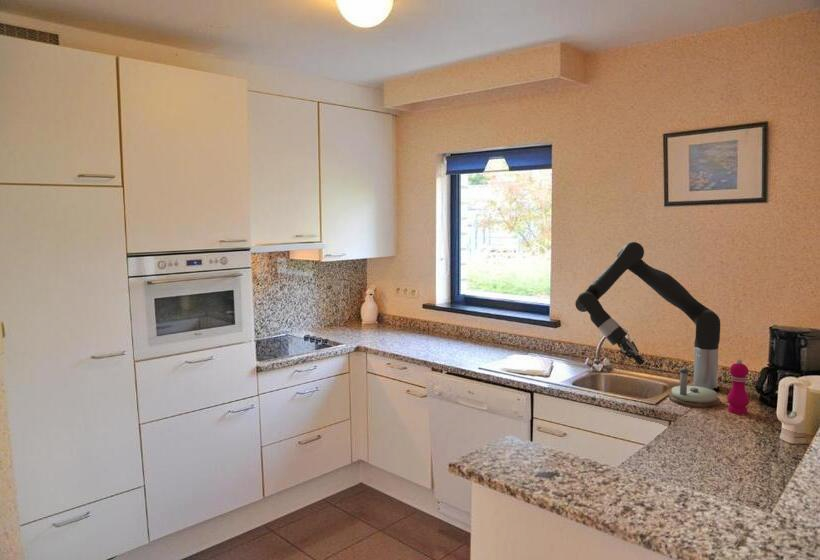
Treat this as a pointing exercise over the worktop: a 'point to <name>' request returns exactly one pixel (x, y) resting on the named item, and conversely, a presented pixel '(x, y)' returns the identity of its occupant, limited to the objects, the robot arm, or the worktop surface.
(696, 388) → the dial
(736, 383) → the pepper mill
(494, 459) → the worktop surface
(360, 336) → the worktop surface
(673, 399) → the grey flat disc
